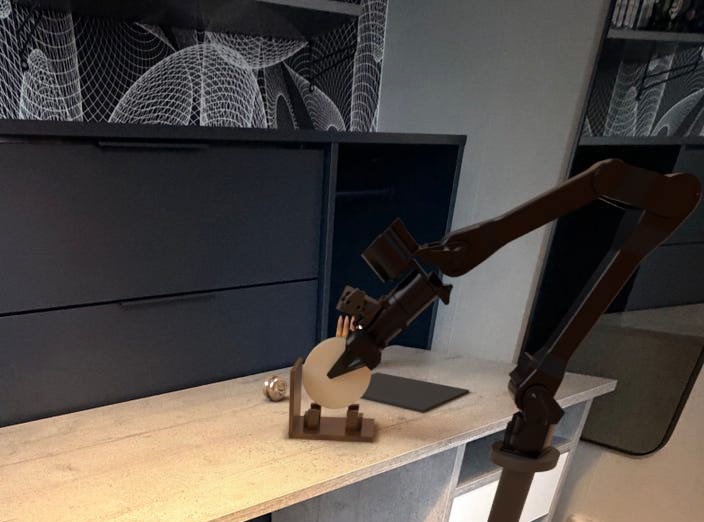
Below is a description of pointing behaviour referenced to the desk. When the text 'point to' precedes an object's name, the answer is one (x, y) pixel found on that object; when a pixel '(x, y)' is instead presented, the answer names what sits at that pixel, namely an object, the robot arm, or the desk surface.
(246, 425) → the desk surface
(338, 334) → the ammunition clip
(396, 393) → the mat
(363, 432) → the stand
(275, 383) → the metal grooved wheel
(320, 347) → the plate
